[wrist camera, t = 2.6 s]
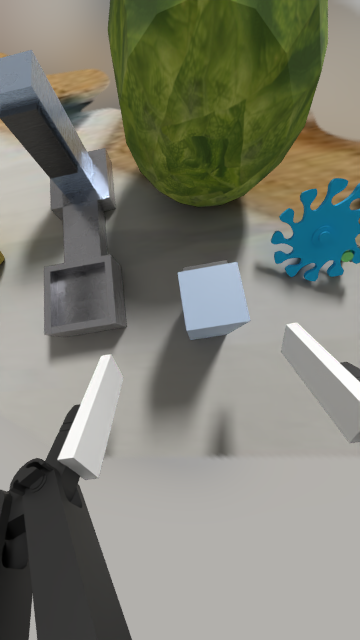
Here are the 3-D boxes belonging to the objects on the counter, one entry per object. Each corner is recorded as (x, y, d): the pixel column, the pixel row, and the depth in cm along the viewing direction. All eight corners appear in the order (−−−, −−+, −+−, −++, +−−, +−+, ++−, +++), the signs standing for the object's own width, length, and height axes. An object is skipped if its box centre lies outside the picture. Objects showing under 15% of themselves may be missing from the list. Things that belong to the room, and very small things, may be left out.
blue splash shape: (252, 256, 22) (325, 153, 16) (254, 245, 27) (311, 163, 21) (332, 302, 22) (438, 217, 16) (319, 284, 26) (397, 212, 20)
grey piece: (111, 162, 29) (52, 29, 17) (126, 327, 24) (58, 301, 12) (59, 173, 29) (-33, 51, 17) (64, 337, 24) (-61, 322, 12)
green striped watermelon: (276, 104, 28) (418, -335, 10) (265, 242, 24) (460, -71, 6) (157, 103, 30) (101, -261, 12) (130, 230, 26) (-11, -28, 8)
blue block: (218, 294, 23) (234, 252, 14) (226, 334, 22) (250, 320, 13) (184, 299, 24) (175, 262, 14) (190, 340, 23) (186, 330, 13)
